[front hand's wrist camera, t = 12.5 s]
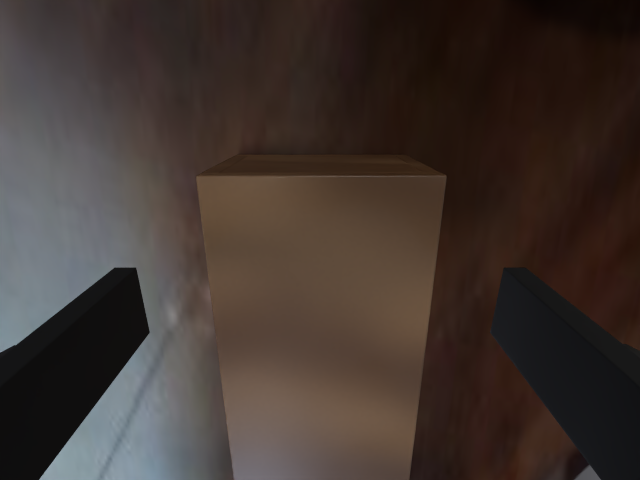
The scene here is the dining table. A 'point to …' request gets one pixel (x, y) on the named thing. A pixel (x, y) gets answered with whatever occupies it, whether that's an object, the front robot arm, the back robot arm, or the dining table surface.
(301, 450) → the cabinet
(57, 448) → the front robot arm
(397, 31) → the dining table surface
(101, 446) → the dining table surface
